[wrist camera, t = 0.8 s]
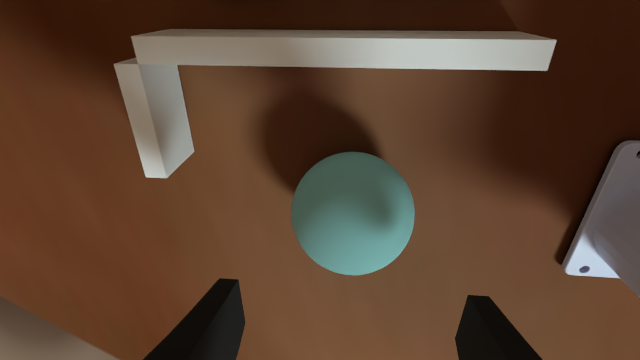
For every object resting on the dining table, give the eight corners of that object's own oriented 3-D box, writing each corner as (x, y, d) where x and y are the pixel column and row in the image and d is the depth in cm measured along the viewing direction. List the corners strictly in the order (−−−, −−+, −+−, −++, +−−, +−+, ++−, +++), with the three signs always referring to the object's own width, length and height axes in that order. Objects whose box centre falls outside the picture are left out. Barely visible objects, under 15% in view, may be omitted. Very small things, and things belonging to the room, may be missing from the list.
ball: (412, 135, 16) (436, 195, 12) (399, 227, 19) (414, 307, 14) (299, 131, 17) (276, 187, 12) (302, 222, 20) (284, 298, 15)
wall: (518, 31, 14) (557, 39, 11) (484, 162, 17) (508, 193, 14) (148, 28, 15) (105, 36, 13) (176, 150, 18) (145, 177, 15)
